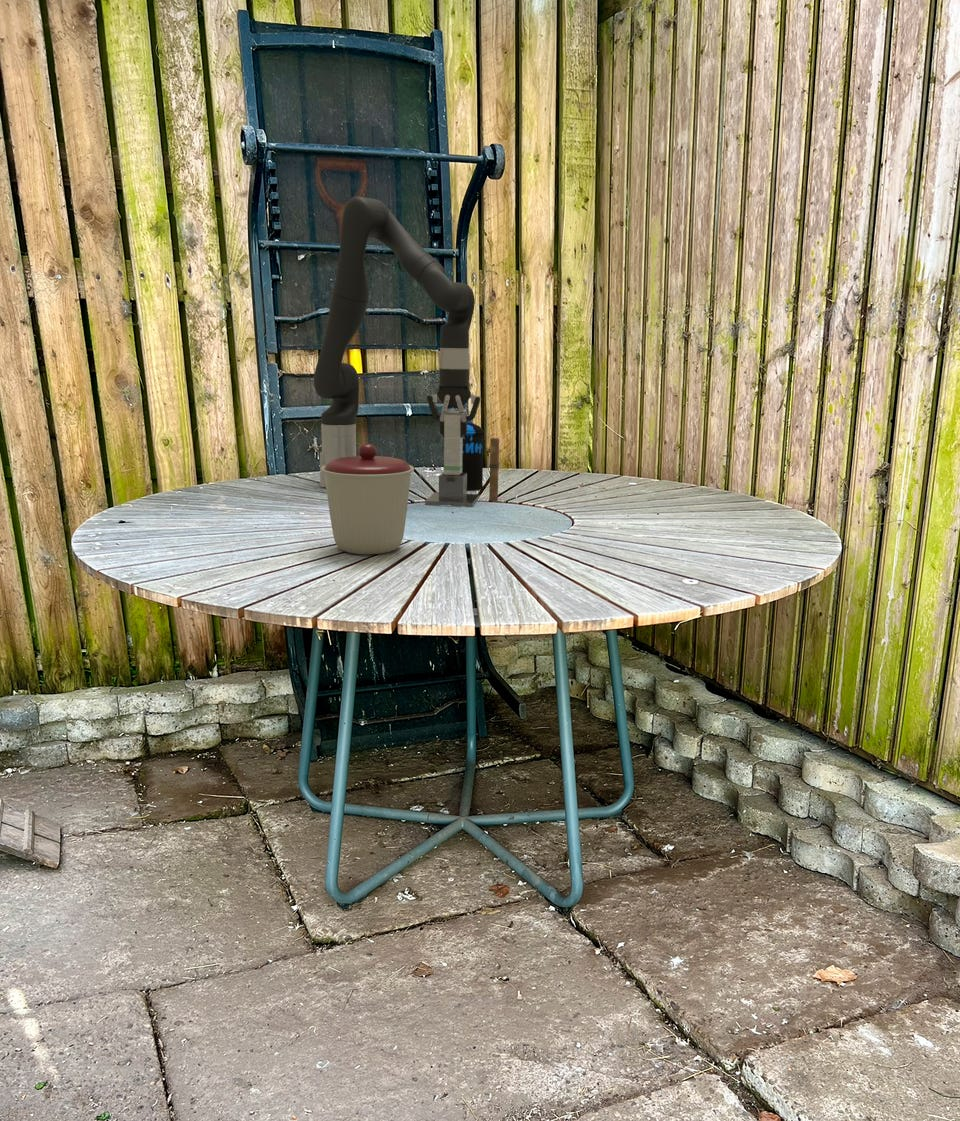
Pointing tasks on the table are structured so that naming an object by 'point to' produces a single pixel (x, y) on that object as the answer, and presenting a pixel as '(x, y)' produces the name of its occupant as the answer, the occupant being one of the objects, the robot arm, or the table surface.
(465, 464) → the aerosol can
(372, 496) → the canister
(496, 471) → the banded wooden rod
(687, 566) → the table surface
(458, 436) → the grey-green long block
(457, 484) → the stand base
